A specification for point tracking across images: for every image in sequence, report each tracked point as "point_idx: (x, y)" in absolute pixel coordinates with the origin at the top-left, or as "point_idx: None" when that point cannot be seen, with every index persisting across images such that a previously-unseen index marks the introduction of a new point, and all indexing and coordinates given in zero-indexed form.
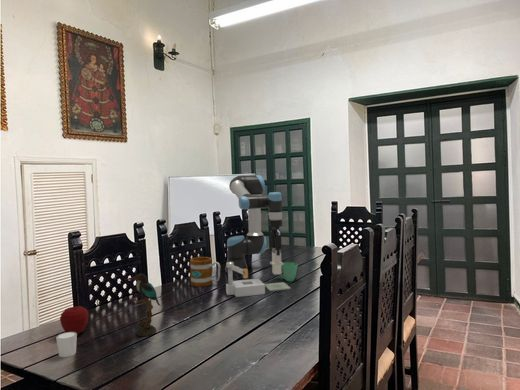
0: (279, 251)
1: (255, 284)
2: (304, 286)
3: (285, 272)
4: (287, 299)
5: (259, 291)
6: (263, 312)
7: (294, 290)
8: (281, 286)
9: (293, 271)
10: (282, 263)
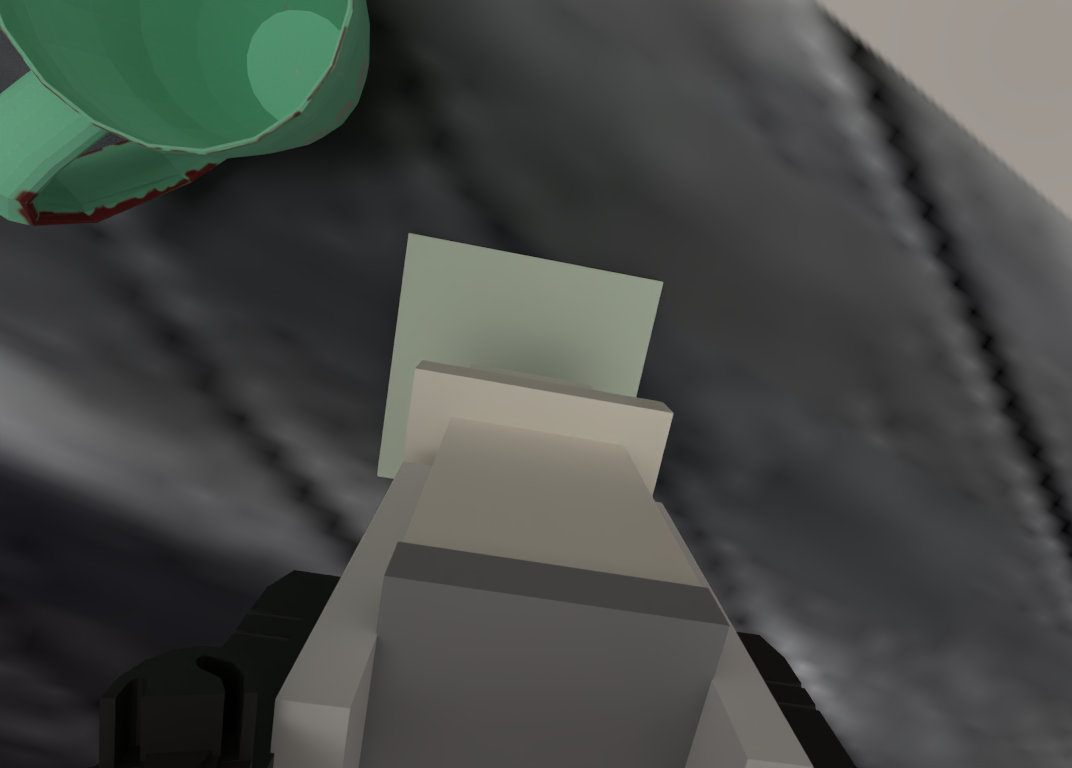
0: (843, 760)
1: None
2: (659, 62)
3: (304, 144)
4: (925, 479)
5: None
6: (1046, 761)
7: (727, 268)
8: (565, 350)
9: (367, 10)
10: (664, 433)
